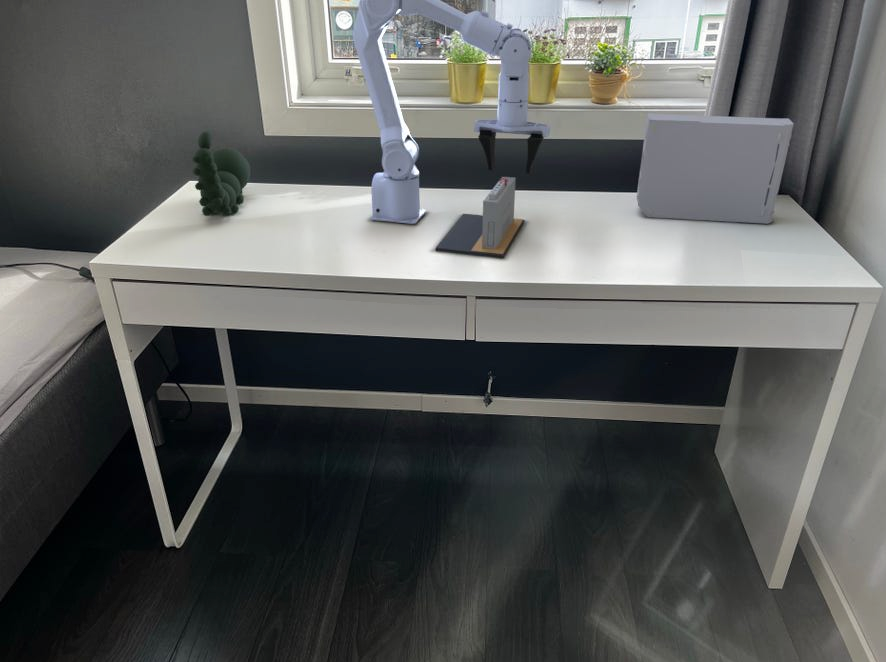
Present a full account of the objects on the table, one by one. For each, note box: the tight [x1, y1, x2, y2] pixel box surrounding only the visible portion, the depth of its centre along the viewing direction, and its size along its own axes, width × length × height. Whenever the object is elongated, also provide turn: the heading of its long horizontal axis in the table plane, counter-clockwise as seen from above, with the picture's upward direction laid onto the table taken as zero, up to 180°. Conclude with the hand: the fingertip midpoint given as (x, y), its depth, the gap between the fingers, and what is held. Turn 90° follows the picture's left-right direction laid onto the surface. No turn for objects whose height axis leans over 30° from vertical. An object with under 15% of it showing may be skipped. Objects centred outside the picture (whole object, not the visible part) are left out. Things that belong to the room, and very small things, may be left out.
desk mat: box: [435, 213, 526, 259], centre depth 148 cm, size 13×20×1 cm, turn 164°
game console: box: [636, 112, 794, 225], centre depth 153 cm, size 6×27×20 cm, turn 81°
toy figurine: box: [192, 130, 251, 217], centre depth 158 cm, size 9×19×25 cm
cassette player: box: [482, 176, 517, 250], centre depth 145 cm, size 16×3×10 cm, turn 164°
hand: (509, 170), depth 151 cm, fingers open, 7 cm apart
